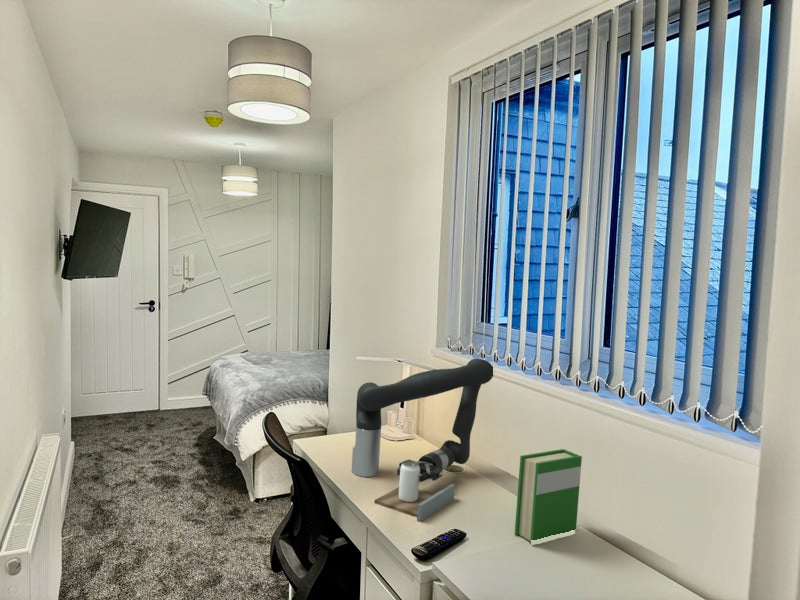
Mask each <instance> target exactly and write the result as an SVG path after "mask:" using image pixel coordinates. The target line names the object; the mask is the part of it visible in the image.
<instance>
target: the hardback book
mask: <svg viewBox="0 0 800 600" xmlns="http://www.w3.org/2000/svg"><path fill="white" fill-rule="evenodd" d="M582 459H583V456H582V455H579V454H577V453H574V452H572V451H570V450H567V449H565V448H561V449H555V450H549V451H541V452H535V453H529V454H524V455H520V457H519V470H518V471H519V472H518V485H517V497H516V498H517V499H516V511H515V525H514V536H515V537H519V536H521V537H523V538H525V539H526V540H527V541H529V540H537V539H541V538H544V537H548V536H551V535H556V534H560V533H565V532H569V531H571V530H575V529H576V530H577V523H578V510H579V508H578V507H579V498H580V497H579V496H580V484H581V475H582V473H581V472H582V471H581V470H582Z"/></svg>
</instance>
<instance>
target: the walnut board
mask: <svg viewBox="0 0 800 600" xmlns="http://www.w3.org/2000/svg"><path fill="white" fill-rule="evenodd" d="M433 495H434V494H429V493H426V492H423V491H420V490H419V492H418V499H417V501H415V502H404V501H401V500H400V499H399V486H398V487H396V488H395V489H392V490H391V491H388V492H387V493H385V494H383V495H381V496H379V497H377V498H376V499H374V504H377V505H380V506H382V507H386V508H387V509H392V510H394V511H397V510H398V512H400V511H401V513H403V514H406V515H409V516H412V517H415V516H416V517H415V518H417V512H418V504H420V503H421V502H423V501H425V500H426V499H428V498H430V497H431V496H433Z"/></svg>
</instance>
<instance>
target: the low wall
mask: <svg viewBox="0 0 800 600" xmlns="http://www.w3.org/2000/svg"><path fill="white" fill-rule="evenodd" d="M455 486H456V485H455V484H453V483H451V484H449V485H448V486H446V487H445V488H443V489H441V490H440V491H438V492H436V493H434V494H432V495H433V496H431V497H430V498H428V499H426V500H425V501H423V502H421V503H420V504H418V512H417V517H416V521H418V522H420V521H421V522H422V521H424V520H425V519H427V518H428V517H429V515H430V516H431V515H432V513H433V514H434V513H435V512H438V511H439V510H440V509H442V508H444V507H445V506H446V505H448V504H450V503H451V502H452V501H453V499H455V488H456V487H455ZM426 517H427V518H426ZM423 519H424V520H423Z"/></svg>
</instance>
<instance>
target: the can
mask: <svg viewBox="0 0 800 600" xmlns="http://www.w3.org/2000/svg"><path fill="white" fill-rule="evenodd" d="M401 462H402V465H401V468H400V476H399V483H398V487H399V499H400V500H401V501H404V502H415V501H417V499H418V492H419V491H420V489H419V488H420V482H419V477H420V475H421V474H420V467H419V463H418V461H416V460H411V459H405V460H403V461H401Z"/></svg>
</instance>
